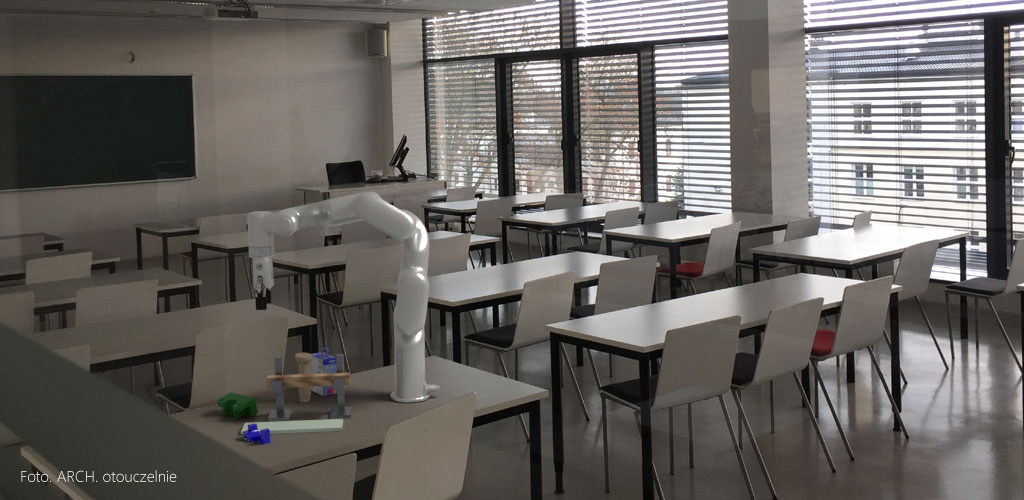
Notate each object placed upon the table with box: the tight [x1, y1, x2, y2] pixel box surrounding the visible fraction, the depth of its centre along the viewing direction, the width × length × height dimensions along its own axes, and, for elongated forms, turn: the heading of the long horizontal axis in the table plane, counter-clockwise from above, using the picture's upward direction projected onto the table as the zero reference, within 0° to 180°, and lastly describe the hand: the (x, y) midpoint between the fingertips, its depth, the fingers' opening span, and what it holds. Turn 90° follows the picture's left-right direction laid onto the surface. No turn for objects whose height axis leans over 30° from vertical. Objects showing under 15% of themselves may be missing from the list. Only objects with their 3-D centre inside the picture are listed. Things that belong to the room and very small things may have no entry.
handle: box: [294, 352, 313, 403], centre depth 296 cm, size 5×6×15 cm
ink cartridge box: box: [309, 346, 337, 397], centre depth 307 cm, size 10×6×14 cm, turn 38°
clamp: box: [216, 391, 259, 420], centre depth 283 cm, size 12×6×9 cm, turn 47°
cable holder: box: [242, 422, 271, 445], centre depth 261 cm, size 8×4×4 cm, turn 47°
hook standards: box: [267, 353, 353, 422], centre depth 281 cm, size 24×9×18 cm, turn 97°
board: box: [240, 418, 344, 435], centre depth 271 cm, size 28×8×1 cm, turn 97°
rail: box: [266, 372, 351, 389], centre depth 279 cm, size 24×3×3 cm, turn 97°
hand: (263, 306), depth 291 cm, fingers open, 9 cm apart
